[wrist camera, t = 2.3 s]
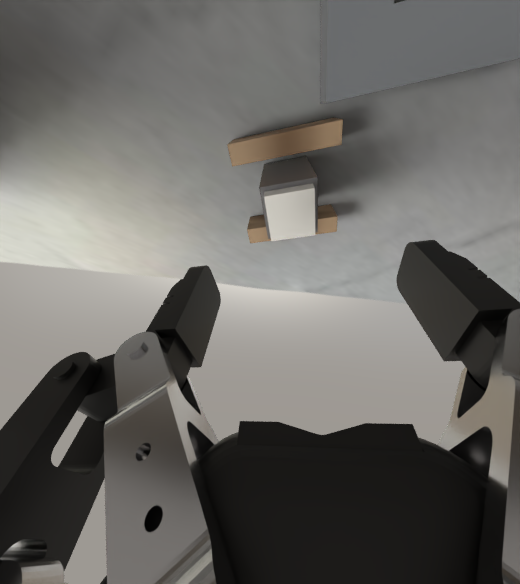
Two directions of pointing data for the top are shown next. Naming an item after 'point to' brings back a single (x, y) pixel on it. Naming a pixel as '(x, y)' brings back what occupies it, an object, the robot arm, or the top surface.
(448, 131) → the top surface
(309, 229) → the plug
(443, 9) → the port
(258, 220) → the pair of wooden planks
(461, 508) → the robot arm
